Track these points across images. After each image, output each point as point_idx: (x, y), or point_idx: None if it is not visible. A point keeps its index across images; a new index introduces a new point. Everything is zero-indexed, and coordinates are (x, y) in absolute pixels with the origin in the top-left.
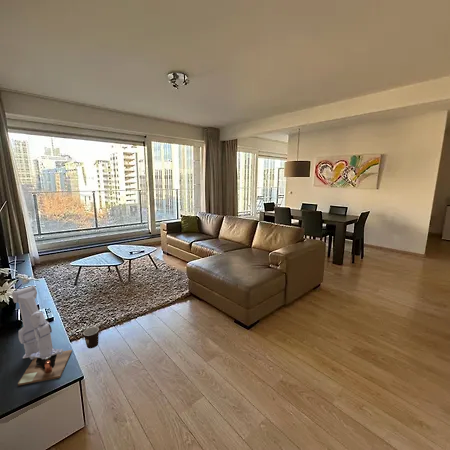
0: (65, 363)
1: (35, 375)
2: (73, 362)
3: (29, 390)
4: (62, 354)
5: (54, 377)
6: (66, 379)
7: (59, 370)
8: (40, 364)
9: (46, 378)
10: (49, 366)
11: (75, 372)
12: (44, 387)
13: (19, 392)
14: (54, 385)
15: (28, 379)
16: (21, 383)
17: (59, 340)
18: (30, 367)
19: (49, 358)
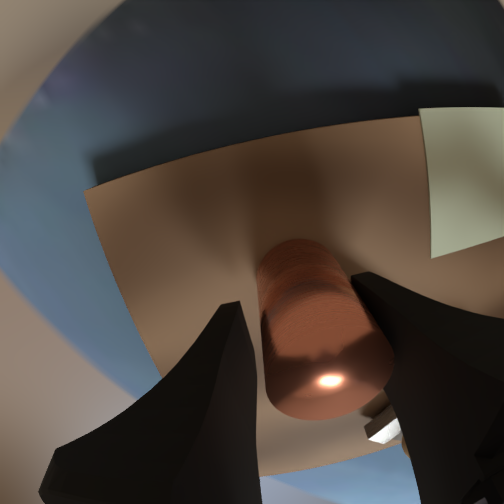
0: (161, 375)
1: (428, 207)
2: (119, 381)
3: (363, 7)
4: (279, 454)
5: (147, 168)
6: (23, 166)
7: (152, 281)
8: (456, 313)
9: (249, 142)
10: (270, 310)
11: (9, 260)
12: (200, 29)
13: (443, 14)
14: (94, 69)
15: (468, 147)
16: (495, 114)
17: (368, 495)
18: (496, 314)
19: (375, 418)
